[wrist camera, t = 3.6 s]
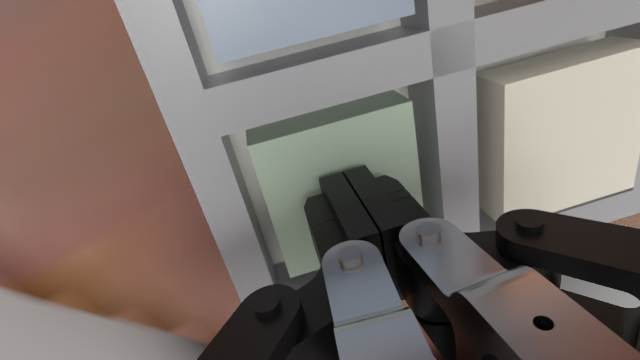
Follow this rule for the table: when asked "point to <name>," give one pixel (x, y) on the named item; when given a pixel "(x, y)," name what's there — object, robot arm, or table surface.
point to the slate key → (288, 22)
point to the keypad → (347, 85)
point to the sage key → (330, 161)
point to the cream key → (559, 127)
